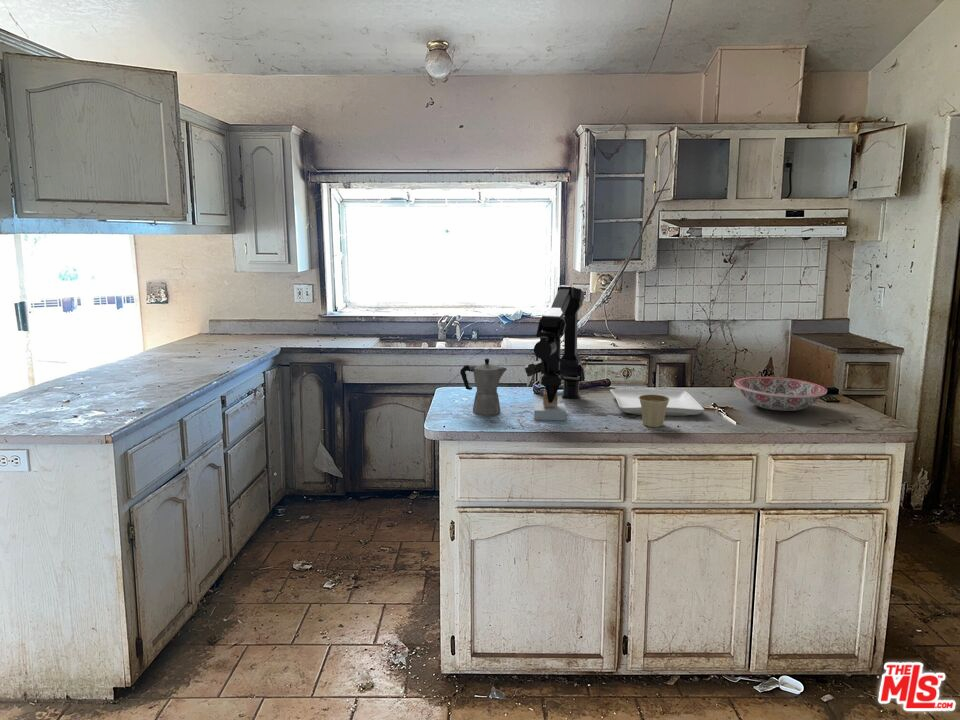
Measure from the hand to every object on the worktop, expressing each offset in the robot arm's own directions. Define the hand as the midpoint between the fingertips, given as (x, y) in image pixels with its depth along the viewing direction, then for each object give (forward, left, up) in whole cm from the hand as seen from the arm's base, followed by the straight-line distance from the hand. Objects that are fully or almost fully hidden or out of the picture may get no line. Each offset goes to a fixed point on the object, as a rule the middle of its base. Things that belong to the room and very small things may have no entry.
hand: (550, 400), depth 224 cm
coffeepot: (-3, -22, -5) cm, 23 cm away
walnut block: (0, 0, -1) cm, 1 cm away
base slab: (0, 0, -5) cm, 5 cm away
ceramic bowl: (-18, +78, -5) cm, 80 cm away
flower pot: (+7, +32, -5) cm, 33 cm away
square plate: (-15, +36, -6) cm, 39 cm away
